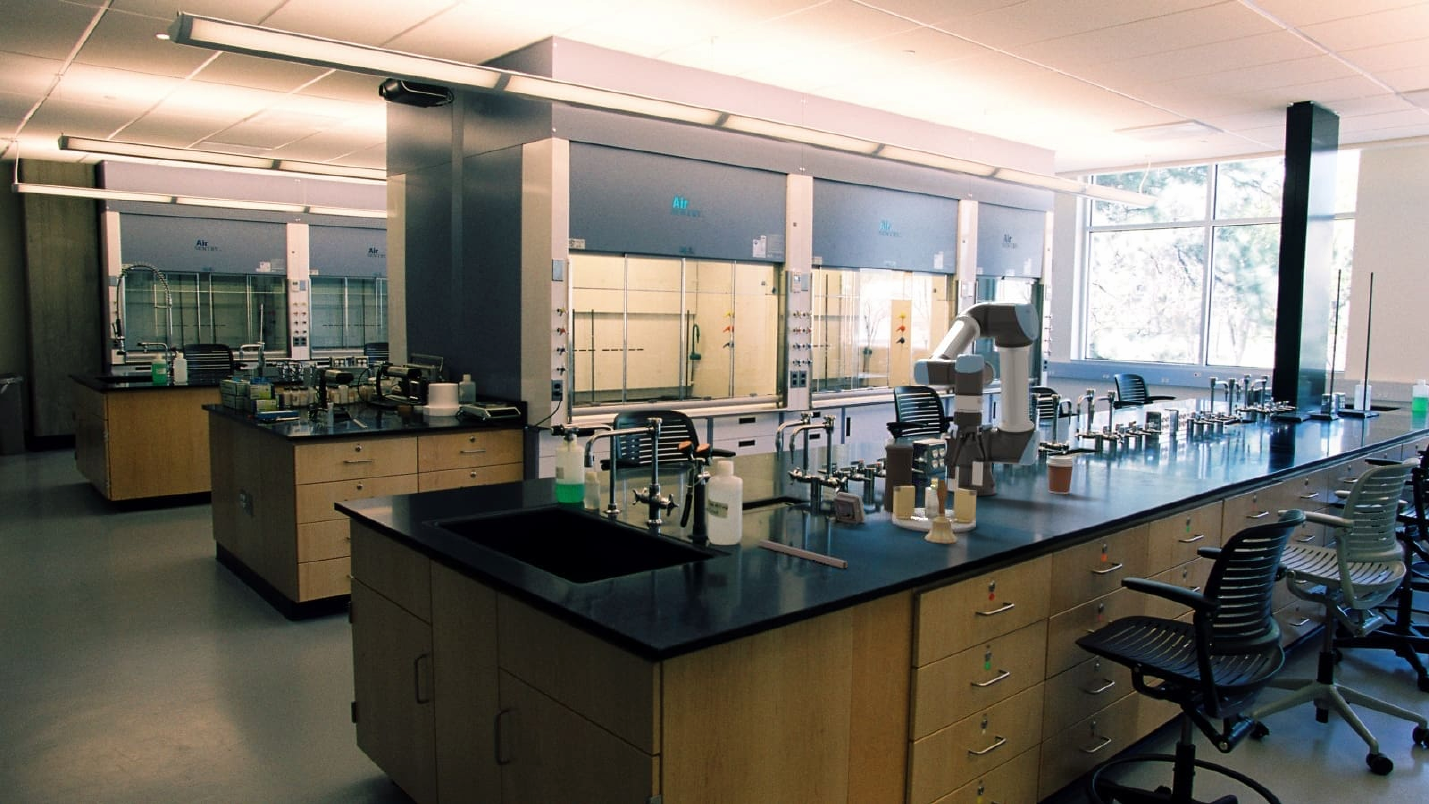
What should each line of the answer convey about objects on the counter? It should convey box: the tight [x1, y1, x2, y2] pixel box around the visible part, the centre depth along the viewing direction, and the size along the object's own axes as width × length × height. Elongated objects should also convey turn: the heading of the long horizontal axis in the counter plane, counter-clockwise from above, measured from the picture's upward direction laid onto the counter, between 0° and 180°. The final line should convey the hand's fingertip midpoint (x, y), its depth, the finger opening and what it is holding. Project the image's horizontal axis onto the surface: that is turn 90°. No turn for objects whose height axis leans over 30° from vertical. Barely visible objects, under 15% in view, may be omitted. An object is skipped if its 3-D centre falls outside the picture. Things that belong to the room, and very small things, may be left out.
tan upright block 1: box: [892, 485, 916, 519], centre depth 252 cm, size 6×4×9 cm
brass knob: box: [930, 477, 939, 485], centre depth 264 cm, size 6×4×9 cm
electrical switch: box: [833, 491, 866, 525], centre depth 257 cm, size 8×5×8 cm, turn 44°
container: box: [883, 443, 915, 512], centre depth 273 cm, size 9×9×20 cm
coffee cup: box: [1045, 455, 1076, 495], centre depth 304 cm, size 9×9×12 cm
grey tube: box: [758, 539, 848, 569], centre depth 218 cm, size 2×27×2 cm, turn 42°
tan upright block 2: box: [953, 488, 977, 523], centre depth 248 cm, size 6×4×9 cm
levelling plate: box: [891, 484, 977, 534], centre depth 255 cm, size 23×23×11 cm
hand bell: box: [924, 478, 958, 545], centre depth 236 cm, size 8×8×16 cm
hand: (965, 487), depth 248 cm, fingers open, 13 cm apart
